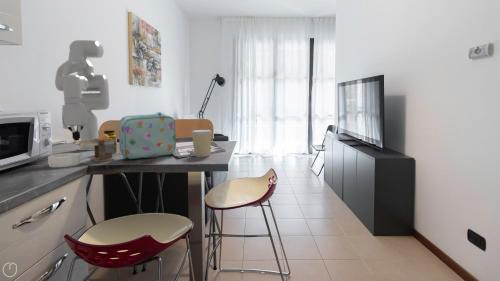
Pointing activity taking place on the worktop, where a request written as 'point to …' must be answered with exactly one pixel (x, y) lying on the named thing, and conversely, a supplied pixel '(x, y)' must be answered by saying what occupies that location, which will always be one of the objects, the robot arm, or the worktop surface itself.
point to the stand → (101, 152)
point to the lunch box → (147, 136)
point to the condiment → (112, 135)
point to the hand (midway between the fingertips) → (76, 140)
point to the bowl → (64, 160)
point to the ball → (105, 137)
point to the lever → (108, 144)
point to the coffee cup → (202, 142)
